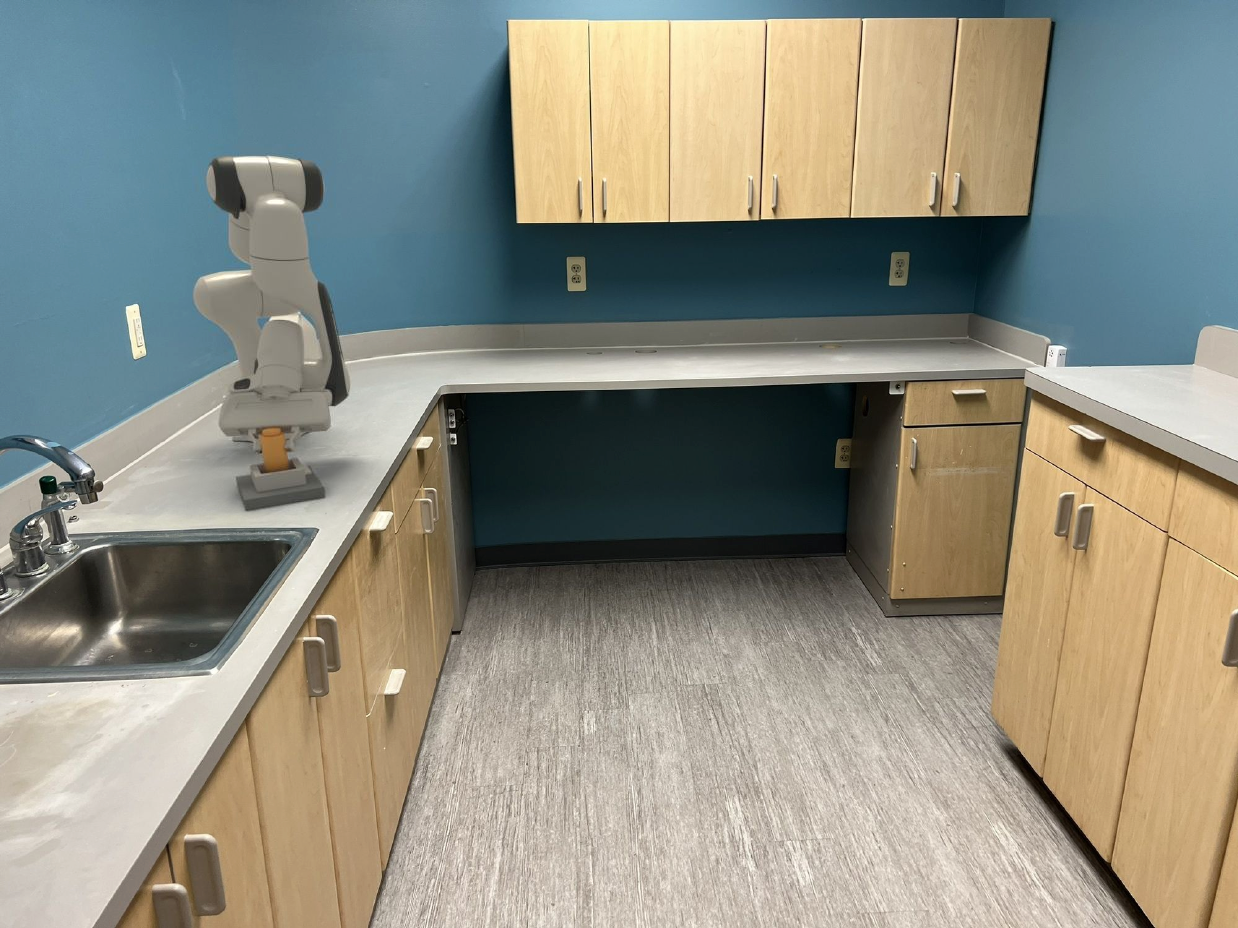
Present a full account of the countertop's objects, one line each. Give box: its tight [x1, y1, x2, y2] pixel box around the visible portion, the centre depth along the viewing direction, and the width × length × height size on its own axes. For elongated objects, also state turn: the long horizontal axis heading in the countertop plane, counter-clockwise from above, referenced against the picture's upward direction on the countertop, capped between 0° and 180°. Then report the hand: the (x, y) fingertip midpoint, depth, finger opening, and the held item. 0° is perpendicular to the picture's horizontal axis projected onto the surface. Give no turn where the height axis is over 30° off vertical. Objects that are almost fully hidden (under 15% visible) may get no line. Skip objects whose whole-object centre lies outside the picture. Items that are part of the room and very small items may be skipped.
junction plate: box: [235, 457, 326, 511], centre depth 166 cm, size 16×14×5 cm
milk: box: [268, 311, 321, 359], centre depth 248 cm, size 12×12×26 cm
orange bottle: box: [260, 427, 290, 473], centre depth 165 cm, size 4×4×9 cm
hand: (273, 451), depth 164 cm, fingers closed on orange bottle, 4 cm apart
